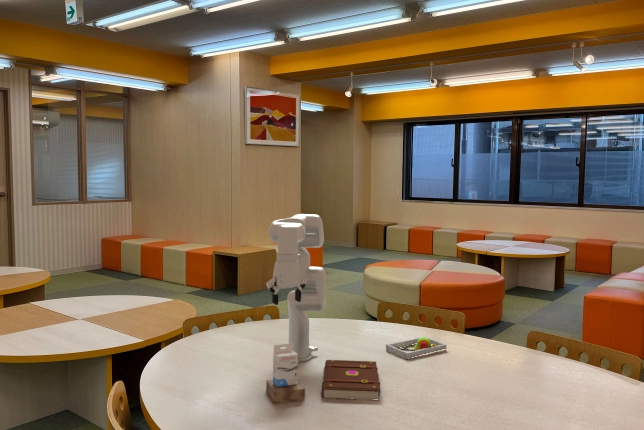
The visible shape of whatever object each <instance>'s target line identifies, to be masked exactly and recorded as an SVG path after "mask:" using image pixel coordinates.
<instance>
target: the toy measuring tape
mask: <svg viewBox="0 0 644 430" xmlns="http://www.w3.org/2000/svg"><path fill="white" fill-rule="evenodd" d="M420 337H421V338H420ZM420 337H418V338H419V339H418V341H417V344H416V345H413V347H409V348H410V349H409V350H411V349H414V350H420V349H425V348H429V347H436V345H435V343H433V345H432V346H431V342H430V340H429V339H428V338H429V337H428V338H426V337H427V336H420ZM396 348H399V346H396ZM404 348H405V347H403V348H399V349H400V350H405V349H404ZM414 350H413V351H414Z"/></svg>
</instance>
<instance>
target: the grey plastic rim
mask: <svg viewBox="0 0 644 430" xmlns="http://www.w3.org/2000/svg"><path fill="white" fill-rule="evenodd" d="M421 337H422V336H420V337H415V338H411V339H406V340H400V341H396V342H391V343H386V344H385V351H386V352H388V353H390V352H391V354H393V355H395V354H396V355H395V356H397V355H398V356H397V357H399V356H401V357H400V358H402V357H403V358H402V359H404V358H406V359H408V358H412V357H415V356H419V355H422V354H426V353H430V352H434V351H438V350H442V349H446V350H447V344H446V343H443V342H440V341H438V340H435V339H433V338H430V337H427V336H425V337H426V338H428V339H429V340H430V342H431V344H433V343H435V345H436V347H429V348H425V349H420V350H416V351H414V350H412V351H408V352H407V351H405V350H403V349H398V348H396V346H399V348H400V347H403V348H405V347H404V346H407V345H412V344H415V343H417V341H418V339H419V338H421ZM406 359H405V360H406ZM412 359H413V358H412ZM408 360H409V359H408Z"/></svg>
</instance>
